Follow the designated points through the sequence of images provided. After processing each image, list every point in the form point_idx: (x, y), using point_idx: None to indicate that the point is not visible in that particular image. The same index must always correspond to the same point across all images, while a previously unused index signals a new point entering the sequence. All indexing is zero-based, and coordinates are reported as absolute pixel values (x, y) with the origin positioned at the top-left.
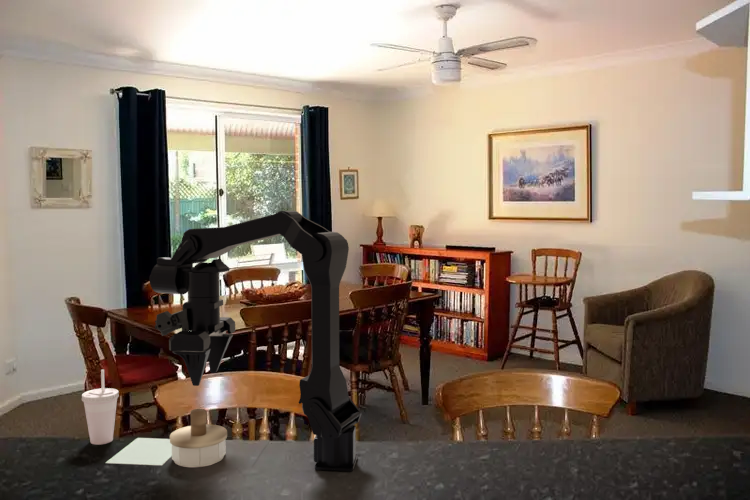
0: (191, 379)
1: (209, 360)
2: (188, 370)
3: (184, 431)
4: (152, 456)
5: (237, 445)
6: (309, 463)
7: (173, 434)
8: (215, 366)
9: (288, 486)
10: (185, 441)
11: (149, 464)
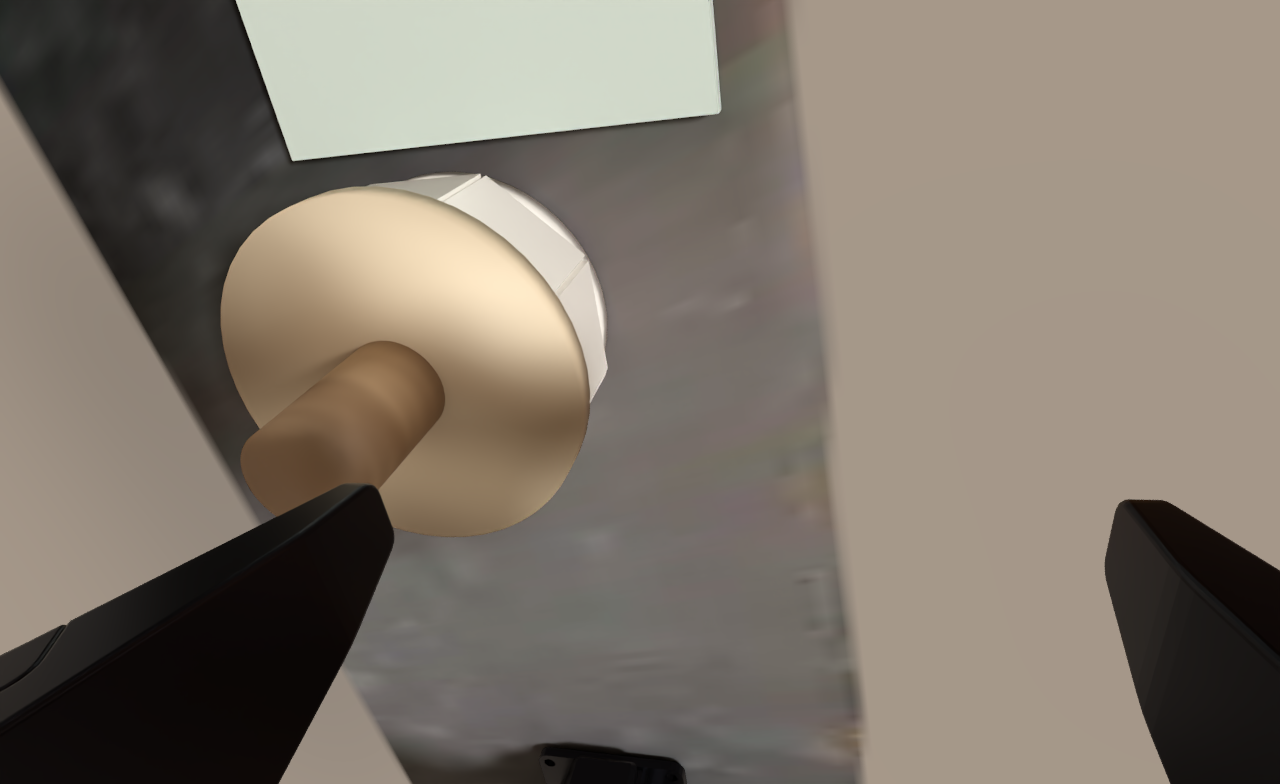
0: (270, 529)
1: (1245, 656)
2: (105, 615)
3: (391, 276)
4: (365, 15)
5: (738, 432)
6: (601, 727)
7: (310, 225)
8: (1137, 653)
9: (397, 684)
10: (253, 362)
11: (265, 76)
